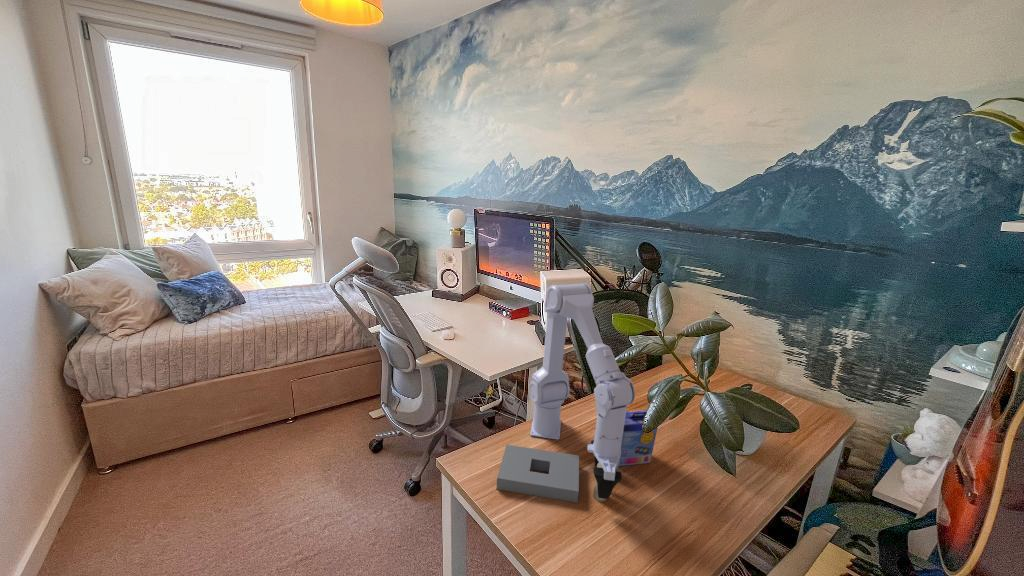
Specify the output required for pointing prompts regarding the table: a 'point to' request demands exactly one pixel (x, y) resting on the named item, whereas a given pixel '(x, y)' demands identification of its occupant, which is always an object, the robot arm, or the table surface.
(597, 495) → the birch pin
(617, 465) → the short steel pin
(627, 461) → the ink cartridge box
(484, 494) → the table surface
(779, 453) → the table surface
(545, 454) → the hole plate
